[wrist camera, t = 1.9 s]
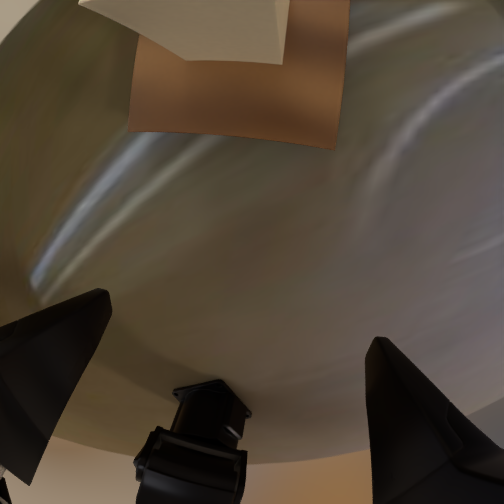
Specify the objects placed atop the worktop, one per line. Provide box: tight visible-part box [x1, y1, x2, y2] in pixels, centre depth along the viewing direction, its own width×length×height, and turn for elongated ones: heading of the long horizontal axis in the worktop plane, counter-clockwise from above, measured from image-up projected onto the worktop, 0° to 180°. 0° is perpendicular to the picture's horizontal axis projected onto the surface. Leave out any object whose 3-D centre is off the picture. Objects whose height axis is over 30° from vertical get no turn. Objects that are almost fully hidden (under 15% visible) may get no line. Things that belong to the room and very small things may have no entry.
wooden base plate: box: [128, 0, 350, 150], centre depth 14 cm, size 14×12×2 cm
